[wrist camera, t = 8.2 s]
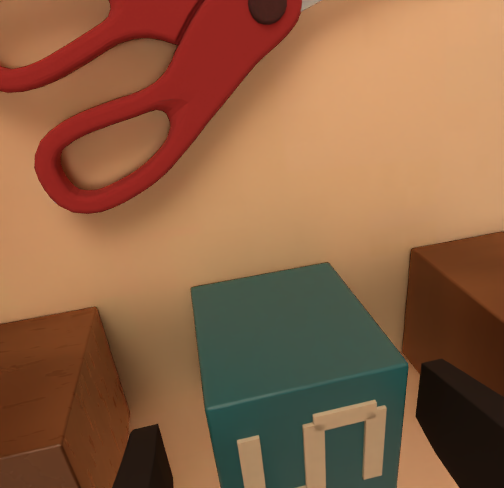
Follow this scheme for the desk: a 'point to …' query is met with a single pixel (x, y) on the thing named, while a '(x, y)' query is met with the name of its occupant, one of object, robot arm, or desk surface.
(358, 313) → the block
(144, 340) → the desk surface
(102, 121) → the scissors
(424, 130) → the desk surface
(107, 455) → the block
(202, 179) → the desk surface
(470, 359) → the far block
